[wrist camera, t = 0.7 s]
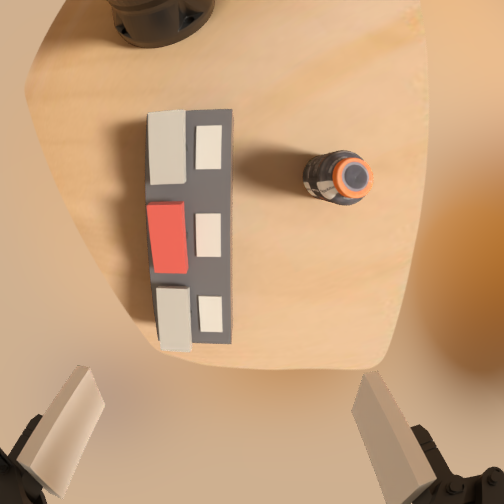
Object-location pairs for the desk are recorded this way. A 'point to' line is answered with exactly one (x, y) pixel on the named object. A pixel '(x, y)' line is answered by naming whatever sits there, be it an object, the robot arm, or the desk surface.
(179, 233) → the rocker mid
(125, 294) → the desk surface
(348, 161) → the pill bottle
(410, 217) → the desk surface
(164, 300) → the block
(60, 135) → the desk surface
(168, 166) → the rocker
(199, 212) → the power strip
